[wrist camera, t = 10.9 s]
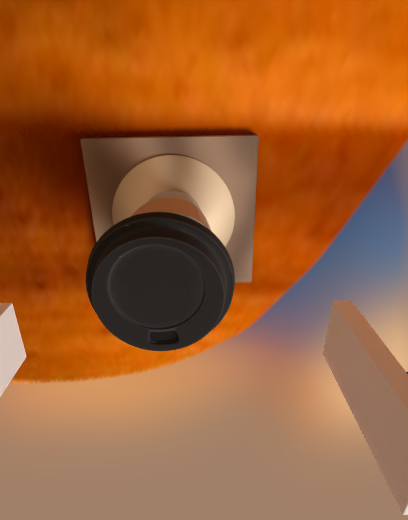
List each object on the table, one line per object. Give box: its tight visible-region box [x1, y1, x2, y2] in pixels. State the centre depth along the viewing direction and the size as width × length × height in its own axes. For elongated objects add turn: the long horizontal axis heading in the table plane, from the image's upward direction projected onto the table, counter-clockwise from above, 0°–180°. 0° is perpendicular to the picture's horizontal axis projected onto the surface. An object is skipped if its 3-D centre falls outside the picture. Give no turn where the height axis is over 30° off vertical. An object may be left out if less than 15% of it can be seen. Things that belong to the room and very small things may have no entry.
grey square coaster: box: [80, 135, 258, 282], centre depth 35 cm, size 16×15×2 cm
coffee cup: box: [86, 191, 235, 351], centre depth 27 cm, size 9×9×15 cm
